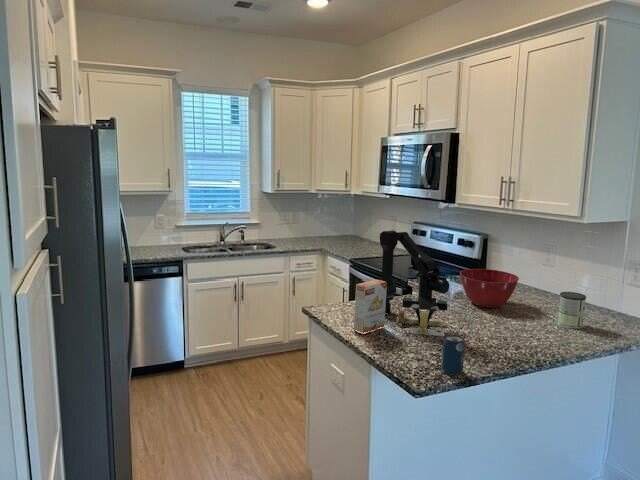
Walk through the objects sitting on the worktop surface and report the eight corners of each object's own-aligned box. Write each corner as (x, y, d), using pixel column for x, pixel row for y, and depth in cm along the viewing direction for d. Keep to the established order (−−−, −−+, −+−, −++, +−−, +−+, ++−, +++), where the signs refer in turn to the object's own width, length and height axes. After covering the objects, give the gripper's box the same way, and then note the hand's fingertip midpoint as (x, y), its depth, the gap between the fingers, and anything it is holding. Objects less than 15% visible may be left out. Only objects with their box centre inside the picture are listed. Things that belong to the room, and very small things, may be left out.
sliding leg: (420, 331, 196) (420, 316, 195) (419, 323, 207) (420, 308, 206) (427, 332, 196) (428, 316, 195) (426, 324, 206) (427, 308, 205)
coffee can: (555, 319, 216) (558, 290, 214) (580, 322, 213) (583, 292, 211) (558, 326, 207) (562, 296, 205) (584, 330, 204) (588, 298, 201)
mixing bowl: (517, 315, 222) (520, 284, 220) (456, 308, 232) (458, 278, 229) (515, 300, 248) (517, 271, 246) (459, 294, 258) (461, 266, 256)
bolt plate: (395, 332, 195) (395, 331, 195) (396, 327, 202) (396, 326, 202) (444, 337, 192) (444, 335, 192) (443, 331, 198) (443, 329, 198)
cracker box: (364, 336, 191) (365, 286, 187) (353, 332, 195) (354, 283, 192) (385, 328, 200) (387, 281, 197) (374, 325, 205) (376, 278, 201)
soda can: (465, 375, 156) (468, 341, 154) (445, 376, 155) (448, 342, 153) (457, 367, 163) (460, 334, 161) (438, 367, 162) (440, 334, 160)
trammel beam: (395, 329, 199) (396, 316, 198) (396, 321, 210) (397, 308, 209) (443, 333, 196) (444, 319, 195) (442, 325, 206) (443, 312, 205)
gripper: (403, 291, 193) (401, 327, 195) (449, 294, 190) (447, 331, 192) (403, 284, 204) (401, 319, 206) (447, 287, 200) (445, 322, 203)
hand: (423, 323), depth 202 cm, fingers closed on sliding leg, 3 cm apart
